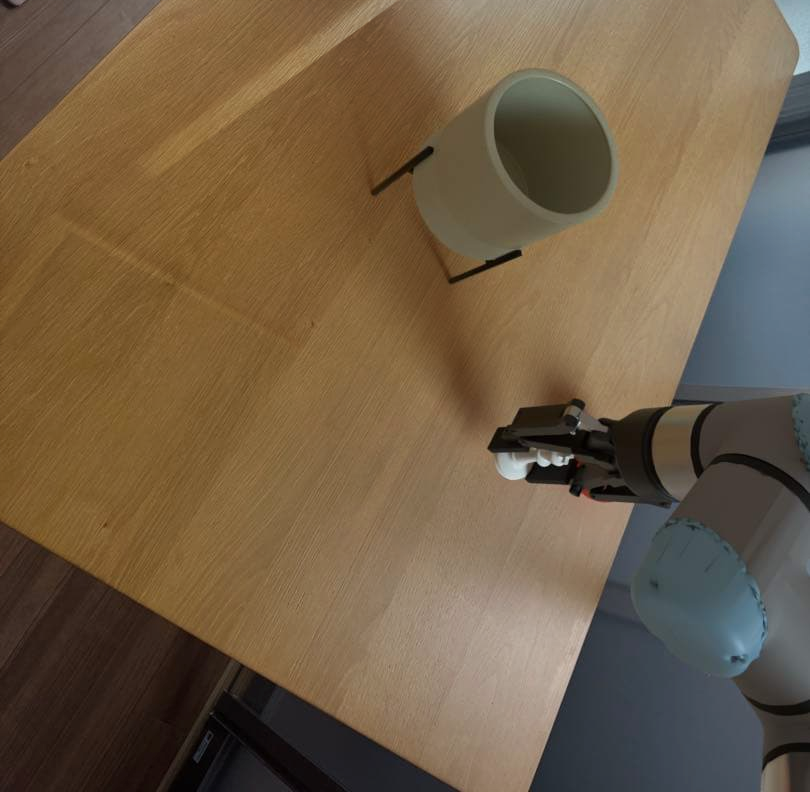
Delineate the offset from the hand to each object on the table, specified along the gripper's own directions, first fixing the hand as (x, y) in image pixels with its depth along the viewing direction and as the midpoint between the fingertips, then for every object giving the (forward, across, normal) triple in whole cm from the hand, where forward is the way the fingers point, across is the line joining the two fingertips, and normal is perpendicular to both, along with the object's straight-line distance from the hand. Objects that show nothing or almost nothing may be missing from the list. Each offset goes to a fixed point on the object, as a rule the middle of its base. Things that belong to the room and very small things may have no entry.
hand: (513, 455), depth 78 cm
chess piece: (0, 0, 0) cm, 0 cm away
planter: (+4, +21, -19) cm, 29 cm away
